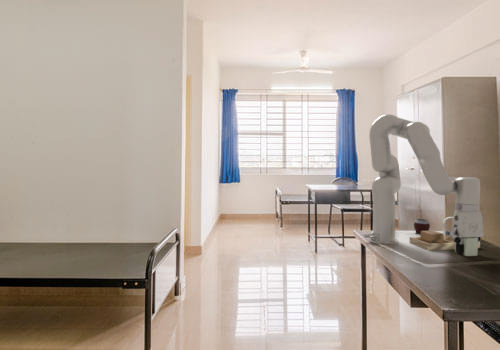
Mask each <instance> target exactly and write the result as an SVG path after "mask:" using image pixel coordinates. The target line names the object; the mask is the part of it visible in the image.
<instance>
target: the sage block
mask: <svg viewBox="0 0 500 350" xmlns="http://www.w3.org/2000/svg"><path fill="white" fill-rule="evenodd" d="M460 238H461V237H459V240H460ZM478 242H479V241H478V238H476V237H471V238H464V241H463V244H464V254H461V256H465V257H474V256H478V250H479V248H478ZM454 252H455V253H456V243H455V249H454Z"/></svg>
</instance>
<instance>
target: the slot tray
mask: <svg viewBox="0 0 500 350" xmlns="http://www.w3.org/2000/svg"><path fill="white" fill-rule="evenodd" d="M478 242H479V243H478V249H480V248H481V241H478ZM409 244H412V245H414V246H417V247H420V248H422V249H424V250H427V251H442V250H455V242H454V240H453V239H452V238H451V237H450V236H446V235H444V240H443V243H434V244H429V243H426V242H423V241H421V236H410V237H409Z"/></svg>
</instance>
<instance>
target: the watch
mask: <svg viewBox="0 0 500 350" xmlns="http://www.w3.org/2000/svg"><path fill="white" fill-rule="evenodd" d="M449 219H453V216H447V217H445V218H444V219H443V221H442V226H443V228H444V230H445V236H449V234H450V233H451V231H450V229H448V228H447V225H446V221H448V220H449ZM455 236H456V235H455Z"/></svg>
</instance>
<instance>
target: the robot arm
mask: <svg viewBox="0 0 500 350" xmlns="http://www.w3.org/2000/svg"><path fill="white" fill-rule="evenodd" d="M390 135H392V136H396V137H399V138H402V139H405V140H407V142H408V144H409V145H410V147H411V149H412V151H413V153H414V154H415V156H416V158H417V161H418V163H419V165H420V168H421V171H422V174H423V175H424V177H425V179H426V181H427V183H428V185H429V187H430V188H431V190H432V191H433V192H434V193H435V194H436V195H439V196H447V195H450V194H455V205H454V209H455V210H454V213H453V215H452V217H453V218H452V222H451V223H452V224H451V225H452V226H451V231H450V232H451V233H450V234H449V236H450V237H451V238H452V239H453V240H454V242H455V243H456V252H455V253H456V254H459V255H462V254H464V244H463V241H464V238H471V237H476V238H478V243H479V242H480V241H481V238H483V237H484V235H485V233H484V221H483V216H482V213H481V211H480V200H481V199H480V198H481V197H480V195H481V180H480V178H478V177H474V176H473V177H471V176H470V177H469V176H466V177H465V176H461V177H457V176H449V174H448V172H447V170H446V169H445V167H444V165H443V162H442V159H441V152H440V150H439V147H438V146H437V144H436V142H435V141H434V139H433V137H432V135H431V130H430V128H429V126H428V125H427V124H425V123H423V122H421V121H412V120H408V119H404V118H401V117H398V116H396V115H394V114H390V113H389V114H388V113H387V114H383V115H381V116H379V117H377V118H376V119H375V120H374V122H373V123H372V124H371V126H370V129H369V145H370V155H371V156H370V157H371V166H372V169H373V170H374V171H375V172H376V173H378V175H379V176H378V177H376V178H375V179H374V180H373V182H372V185H371V191H372V203H373V204H372V231H370V232H369V233H363V234H362V237H363V238H364V239H367V238H368V240H369V242H371V243H373V244H376V245H377V244H378V245H383V246H384V244H387V245H388V244H390V245H391V244H398V243H399V240H398V239H397V238H395V237H396V236H395V235H396V232H395V231H396V199H395V194H396V193H398V192H399V190H400V189H401V181H402V180H401V174H400V173H401V172H400V163H399V161H398V158H397V157H396V156H395V155H393V154H392V151H391V142H390V139H389V136H390ZM455 235H456V236H455ZM459 237H461V238H460V240H459Z"/></svg>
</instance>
